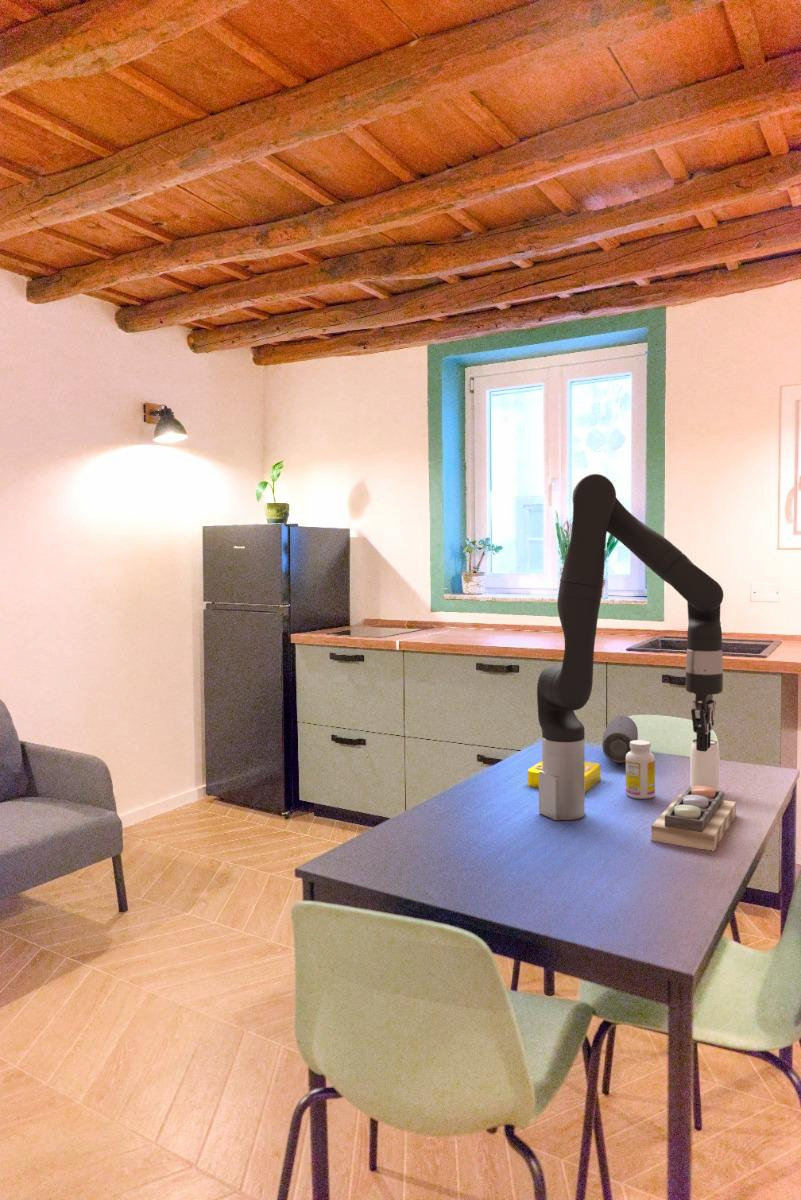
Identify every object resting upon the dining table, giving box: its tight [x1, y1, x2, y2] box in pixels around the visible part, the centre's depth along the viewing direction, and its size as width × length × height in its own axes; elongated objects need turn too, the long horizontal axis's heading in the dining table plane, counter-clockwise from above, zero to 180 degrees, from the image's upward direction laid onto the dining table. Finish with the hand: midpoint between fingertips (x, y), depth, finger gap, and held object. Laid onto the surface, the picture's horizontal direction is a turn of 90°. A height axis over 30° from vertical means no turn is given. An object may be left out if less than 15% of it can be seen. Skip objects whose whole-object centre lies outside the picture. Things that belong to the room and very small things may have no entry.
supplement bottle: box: [625, 739, 656, 800], centre depth 195 cm, size 7×7×13 cm
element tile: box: [527, 760, 602, 793], centre depth 207 cm, size 15×15×5 cm
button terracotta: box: [691, 786, 715, 799], centre depth 179 cm, size 5×5×2 cm
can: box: [689, 738, 720, 791], centre depth 198 cm, size 6×6×12 cm
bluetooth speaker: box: [601, 715, 639, 764], centre depth 230 cm, size 23×9×10 cm, turn 162°
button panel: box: [650, 786, 737, 852], centre depth 173 cm, size 24×12×5 cm, turn 148°
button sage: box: [674, 805, 701, 820], centre depth 166 cm, size 5×5×2 cm
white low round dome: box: [683, 795, 708, 809], centre depth 173 cm, size 5×5×2 cm
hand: (703, 748), depth 178 cm, fingers open, 2 cm apart
